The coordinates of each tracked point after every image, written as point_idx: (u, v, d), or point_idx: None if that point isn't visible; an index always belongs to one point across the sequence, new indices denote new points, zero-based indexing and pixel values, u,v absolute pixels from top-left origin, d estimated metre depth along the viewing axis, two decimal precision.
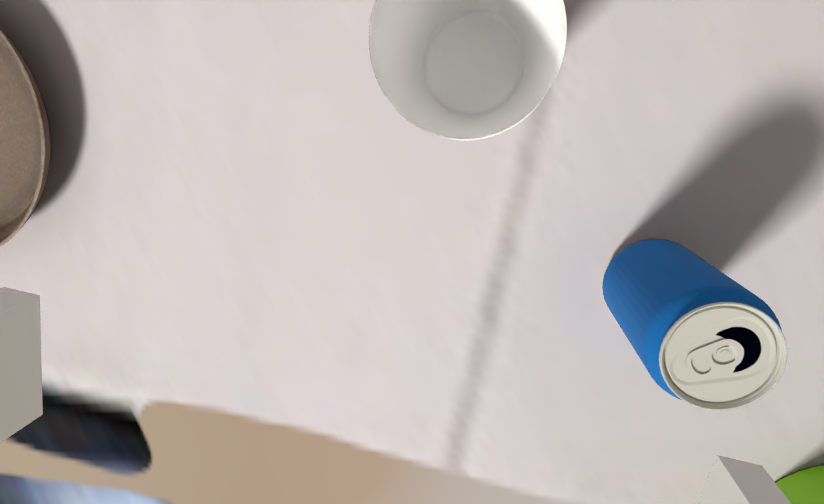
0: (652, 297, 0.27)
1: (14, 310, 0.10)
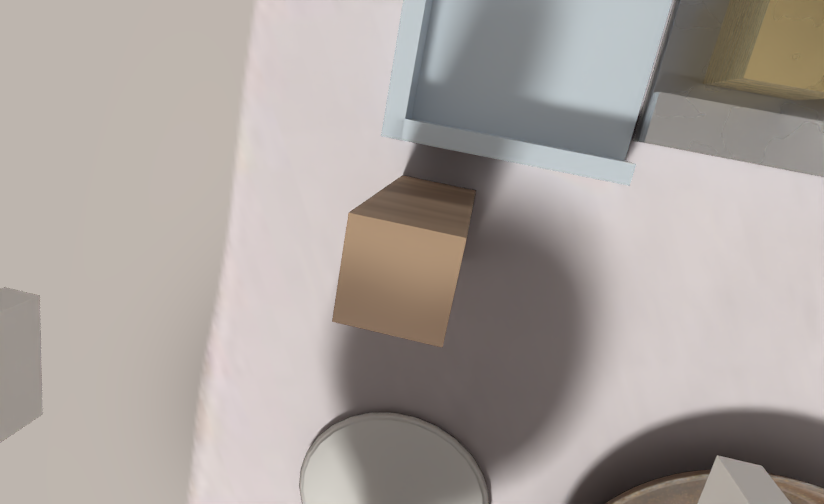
0: None
1: (14, 310, 0.10)
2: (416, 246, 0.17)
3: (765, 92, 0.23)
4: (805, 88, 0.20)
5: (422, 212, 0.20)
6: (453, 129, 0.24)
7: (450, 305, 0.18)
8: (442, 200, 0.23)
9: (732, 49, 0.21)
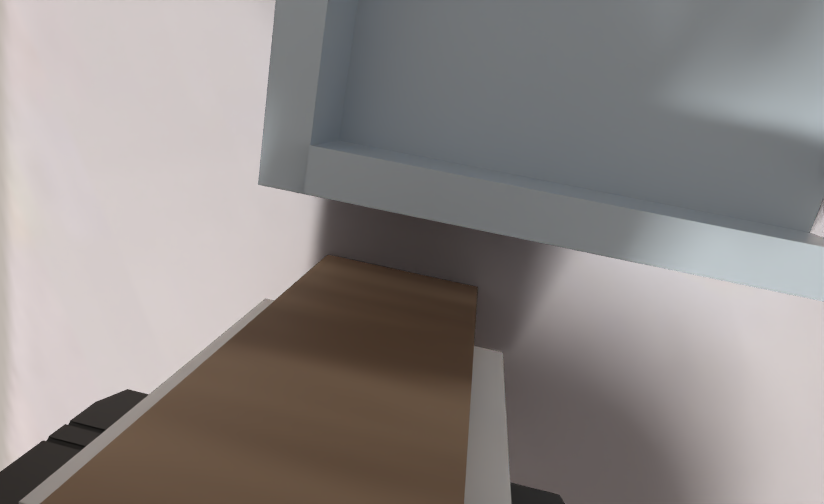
0: None
1: None
2: None
3: None
4: None
5: None
6: (424, 170, 0.10)
7: None
8: (390, 366, 0.09)
9: None
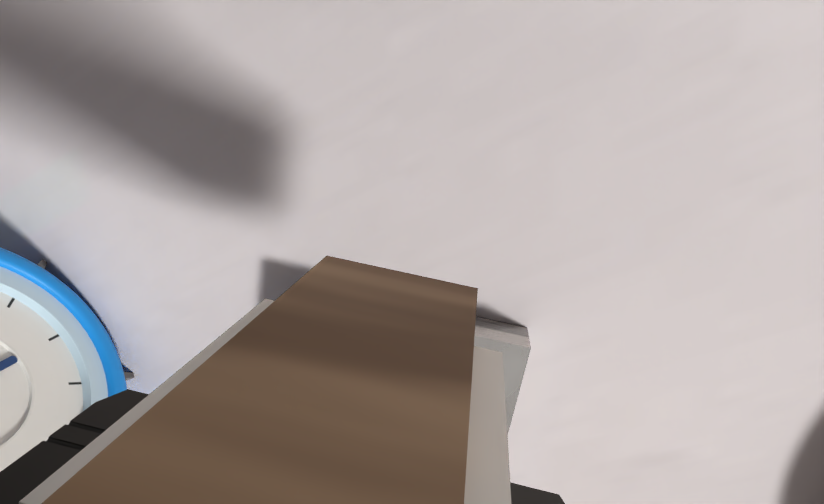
0: None
1: None
2: None
3: None
4: None
5: None
6: None
7: None
8: (389, 369, 0.08)
9: None
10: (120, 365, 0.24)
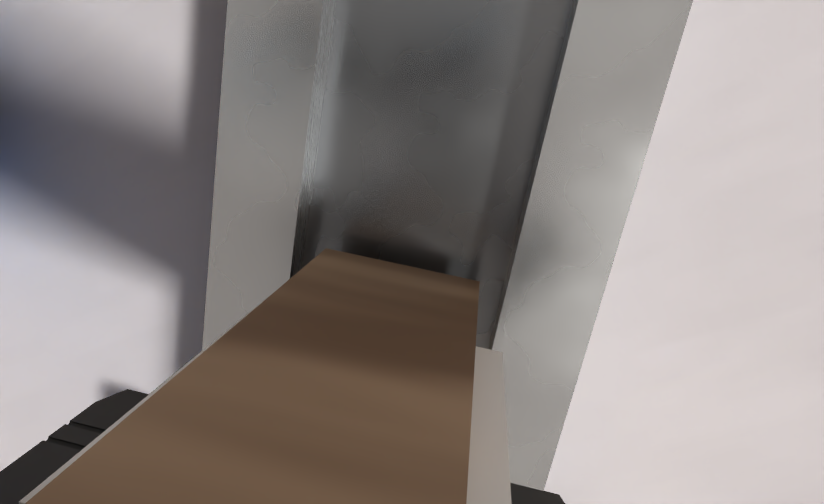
0: None
1: None
2: None
3: None
4: None
5: None
6: None
7: None
8: (389, 363, 0.08)
9: None
10: None
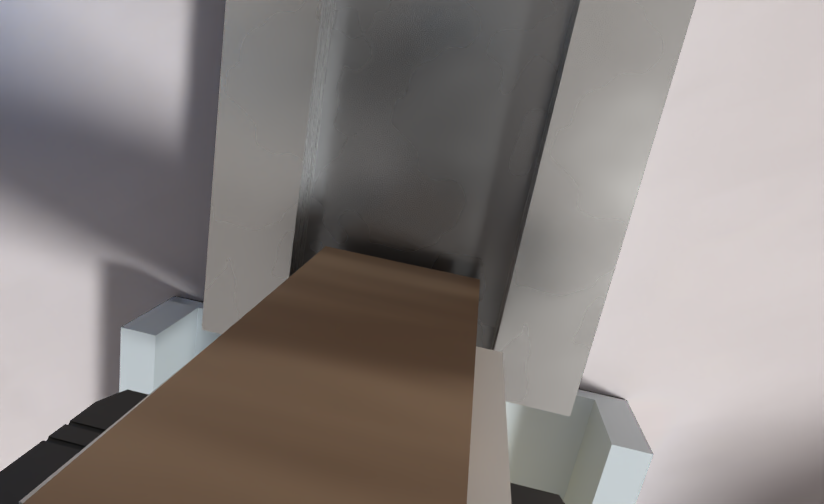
0: None
1: None
2: None
3: None
4: None
5: None
6: None
7: None
8: (389, 362, 0.08)
9: None
10: None
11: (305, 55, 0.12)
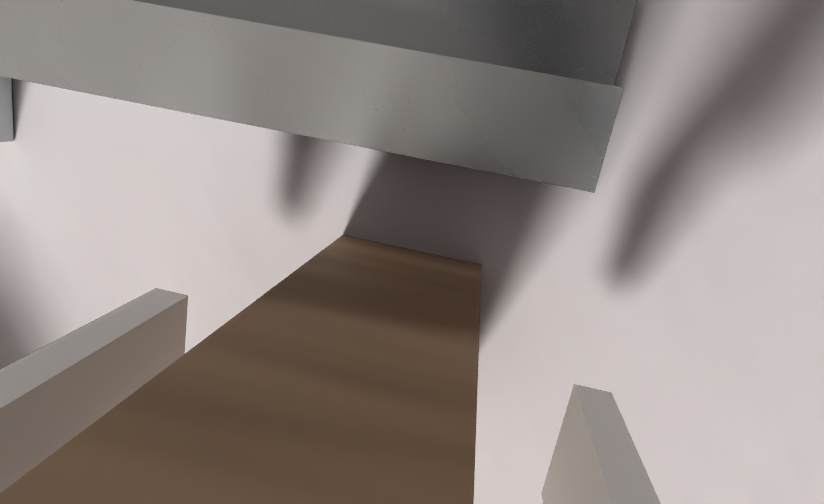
0: None
1: (172, 309, 0.11)
2: None
3: None
4: None
5: (330, 409, 0.06)
6: None
7: None
8: (407, 319, 0.10)
9: None
10: None
11: None
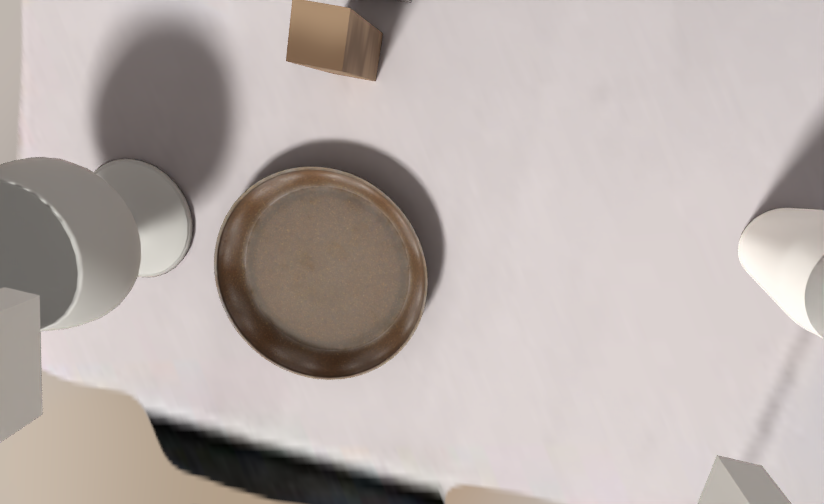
0: None
1: (14, 310, 0.10)
2: (326, 14, 0.34)
3: None
4: None
5: None
6: None
7: (344, 46, 0.35)
8: None
9: None
10: None
11: None
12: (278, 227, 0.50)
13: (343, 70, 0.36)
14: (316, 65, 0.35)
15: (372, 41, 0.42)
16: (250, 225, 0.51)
